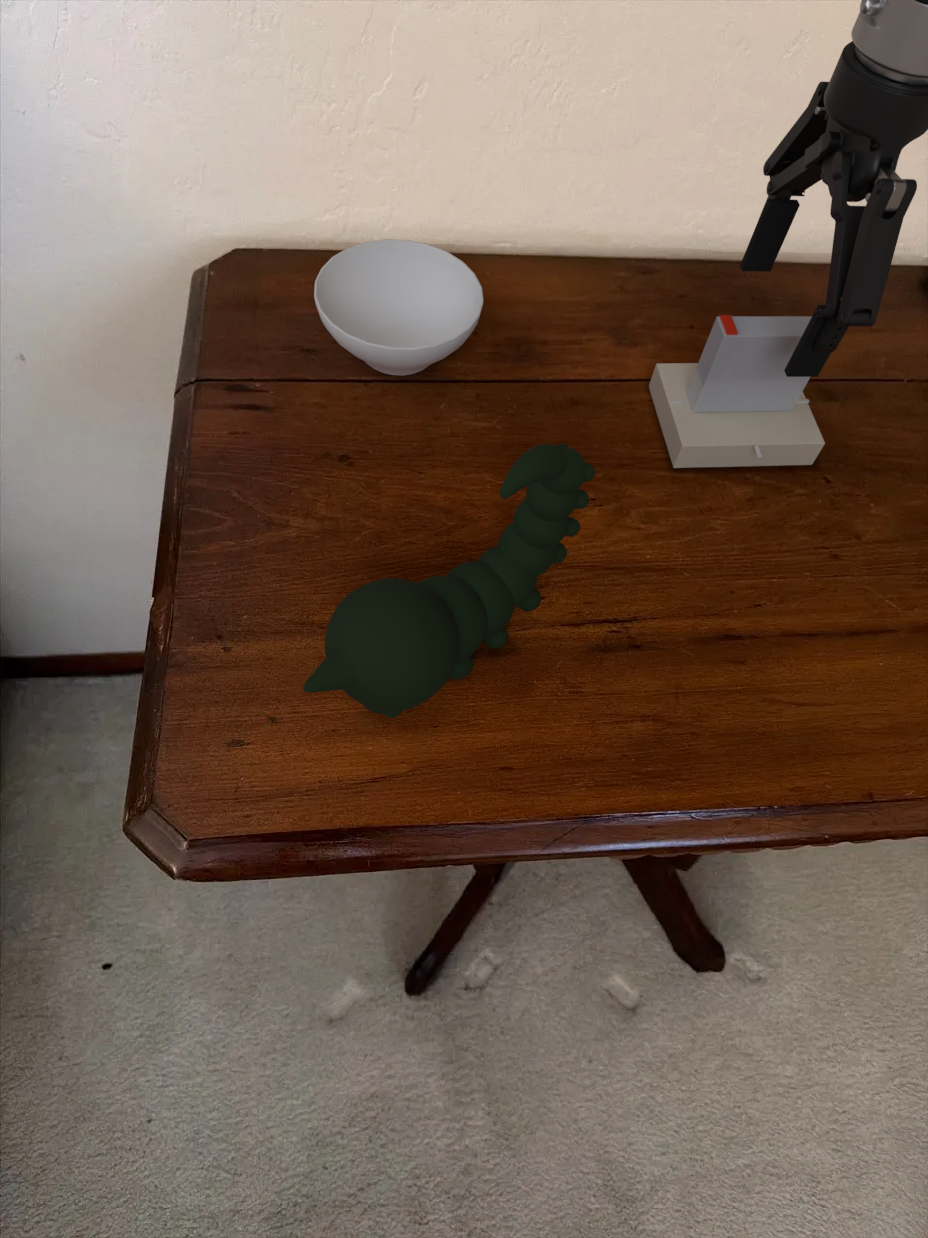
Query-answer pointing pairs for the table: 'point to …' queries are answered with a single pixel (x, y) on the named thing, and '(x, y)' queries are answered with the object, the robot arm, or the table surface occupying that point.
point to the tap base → (729, 428)
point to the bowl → (398, 303)
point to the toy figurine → (453, 597)
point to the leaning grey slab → (748, 365)
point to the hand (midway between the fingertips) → (776, 319)
